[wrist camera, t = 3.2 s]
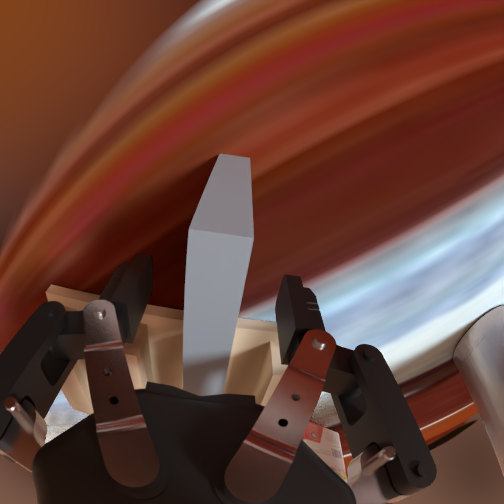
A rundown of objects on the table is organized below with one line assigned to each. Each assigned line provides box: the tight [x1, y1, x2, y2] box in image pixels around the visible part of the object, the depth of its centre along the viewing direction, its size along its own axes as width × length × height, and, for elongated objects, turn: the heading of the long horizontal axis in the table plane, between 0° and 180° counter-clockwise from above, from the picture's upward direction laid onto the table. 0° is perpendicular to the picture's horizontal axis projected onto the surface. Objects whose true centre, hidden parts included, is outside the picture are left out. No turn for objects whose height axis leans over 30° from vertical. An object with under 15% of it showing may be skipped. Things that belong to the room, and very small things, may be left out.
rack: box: [46, 284, 288, 415], centre depth 22 cm, size 20×14×4 cm
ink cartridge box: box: [302, 421, 347, 483], centre depth 25 cm, size 9×5×15 cm, turn 43°
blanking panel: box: [183, 154, 254, 396], centre depth 14 cm, size 2×10×9 cm, turn 170°
